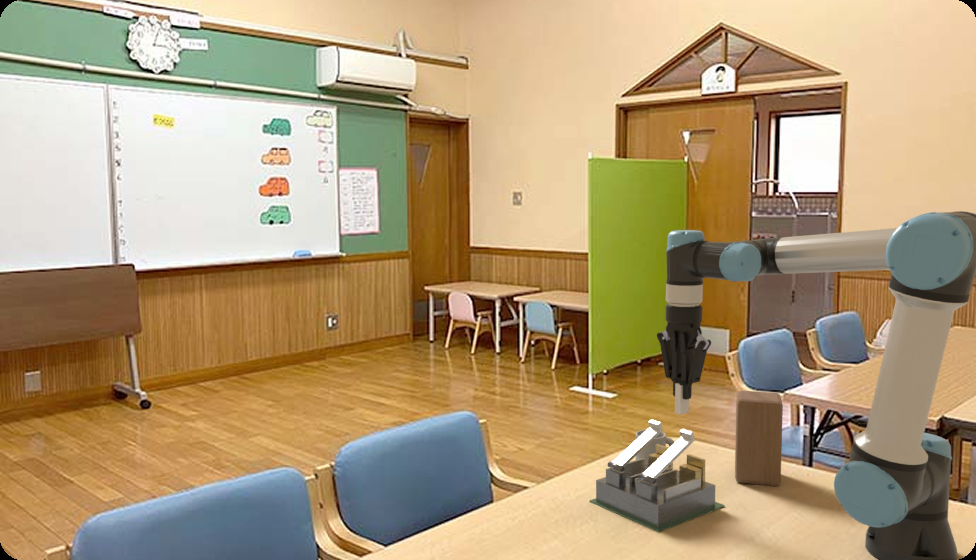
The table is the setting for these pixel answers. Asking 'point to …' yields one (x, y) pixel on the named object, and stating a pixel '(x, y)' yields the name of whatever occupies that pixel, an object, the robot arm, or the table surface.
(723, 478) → the table surface
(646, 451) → the cup
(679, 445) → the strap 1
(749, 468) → the wooden block
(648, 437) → the silver long flat bar
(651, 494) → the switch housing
